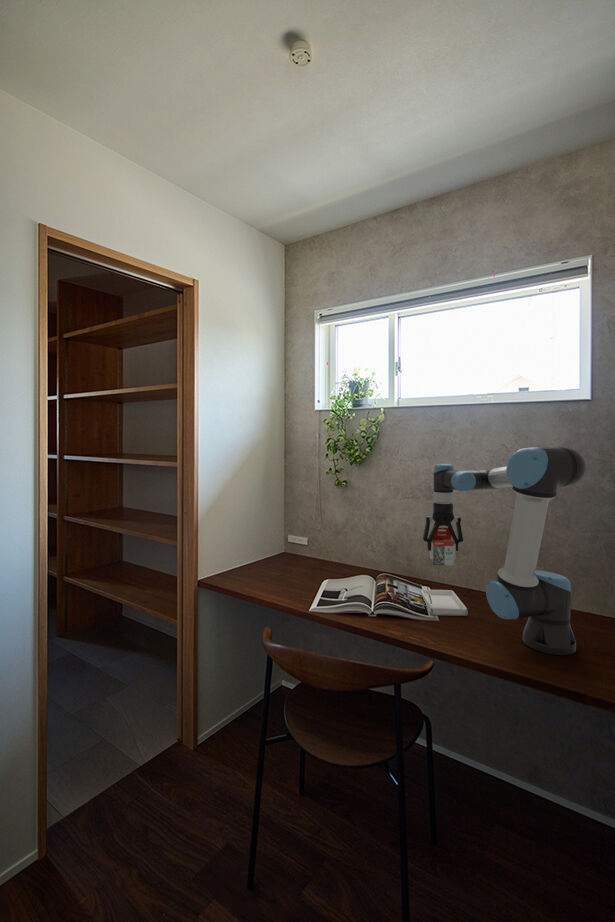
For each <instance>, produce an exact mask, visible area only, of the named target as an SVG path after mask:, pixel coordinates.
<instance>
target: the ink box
mask: <svg viewBox="0 0 615 922" xmlns="http://www.w3.org/2000/svg"><path fill="white" fill-rule="evenodd" d="M445 530H446V531H445ZM432 542H433V560H431V564H432V565H433V566H454V564H455V563H454V561H455V560H454V540H453V539H452V535H451V533H450V531H449V529H448V527H439V528H438V529H437V531H436V533H435V536H434V538H433V540H432Z"/></svg>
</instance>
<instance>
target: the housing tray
mask: <svg viewBox="0 0 615 922" xmlns="http://www.w3.org/2000/svg"><path fill="white" fill-rule="evenodd" d="M420 593H421V595H422V597H423V599H424V601H425V603H426V605H427V607H428V609H429V611H428V612H430V613H429V615H430V616H454V617H460V616H462V617H463V616H464V617H467V616H468V613H469V612H468V608H467V607H466V605H465V604H464V603H463V602H462V600H461V599H460V598H459V597H458V596H457V594H456V593H455V592H454V591H453V589H450V590H449V589H420V590H419V594H420ZM424 593H427V594H431V599H432V604H430V603H429V601H428V599H427V597H426V596H425V594H424ZM425 603H424V604H425ZM426 605H425V606H426ZM427 607H426V608H427ZM428 609H427V610H428Z"/></svg>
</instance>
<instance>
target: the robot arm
mask: <svg viewBox="0 0 615 922" xmlns="http://www.w3.org/2000/svg"><path fill="white" fill-rule="evenodd" d="M433 466H434V467H433V473H432V474H433V502H434V503H433V505H432V507H433V512H432V515H430V516H428V515H426V516H425V518H424V519H425V525H424V531H423V536H422V540H423V541H424V542H427V545H426V546H427V551H429V558H430V560H431V561H432V560H433V542H432V540H433V538H434V536H435V533H436V531H437V529H438V528H440V527H444V526H445V527H446V528H448V529H449V531H450V533H451V539H452V540H453V541H454V561H456V558H457V557H456V556H457V555H456V552H458V551H459V543H462V542H463V541H464V537H463V531H462V525H461V523H462V522H461V521H462V517H460V516H459V515H457V516H455V515H454V504H453V502H454V491H458V492H470V491H477V490H498V489H502V488H510V487H511V488H512V492H513V493H514V494H515V495H516V499H515V503H514V510H513V514H512V521H511V526H510V533H509V536H508V537H509V538H508V543H507V549H506V555H505V560H504V565H503V567H501V568H499V569H498V570H497V574H496V575H497V576H496V579H495V580H491V581H490V582H488V584H487V585H486V589H485V590H486V591H485V593H486V599H487V603H488V604H489V607H490V609H491V610H492V611H493V613H495V615H496V616H498V617H499V618H500V619H503V620H517V619H522V618H528V619H527V621H526V624H525V625H524V629H523V631H522V641H523V643H524V645H526V646H528V647H529V648H531V649H532V650H535V651H537V652H540V653H544V654H548V655H555V656H569V655H573V654H574V653H576V652H577V641H576V638H575V635H574V632H573V629H572V627H571V607H572V605H571V604H572V602H571V601H572V599H571V598H572V588H571V587H572V586H571V585H572V584H571V581H570V579H569V578H567V577H566V576H564V575H562V574H558V573H555V572H552V571H551V572H550V571H545V570H539V569H538V570H537V563H538V559H539V553H540V549H541V548H540V547H541V545H542V544H541V542H542V540H543V539H542V538H543V534H544V527H545V523H546V518H547V512H548V509H549V508H548V507H549V503H550V501H553V500H554V499H556V497H557V495H558V494H557V493H558V488H559V487H560V488H562V487H569V486H574V485H576V484H577V483H579V482H580V481H581V480H582V479H583V478H584V476H585V474H586V471H587V470H586V469H587V463H586V460H585V458H584V456H583V455H581V453H579V452H578V450H575V449H573V448H570V447H563V446H561V447H560V446H559V447H556V446H555V447H549V446H548V447H545V446H544V447H543V446H542V447H541V446H540V447H539V446H531V447H525V448H520V449H518V450H517V451H515V452H514V453H513V454H511V456H510V457H509V459H508V462H507V464H506V466H500V467H494V468H490V469H474V470H473V469H471V470H470V469H468V470H467V469H466V470H465V469H464V470H460V469H455V467H454V465H453V463H452V464H451V463H437V464H434V465H433ZM432 520H433V521H434V524H433V527H432V529H431V531H430V526H431V522H432ZM453 520H454V522H455V525H456V526H455V527H456V528H455V529H456V532H457V535H456V533H455V531H454V528H453V525H452V522H453ZM429 532H430V533H429Z"/></svg>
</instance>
